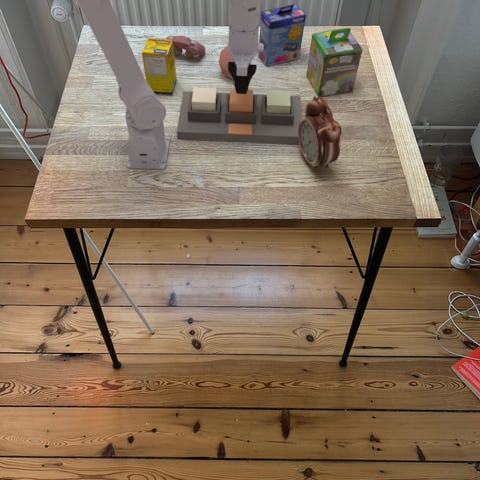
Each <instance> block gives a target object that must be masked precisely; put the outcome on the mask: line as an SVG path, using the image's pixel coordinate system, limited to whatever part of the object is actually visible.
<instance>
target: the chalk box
mask: <svg viewBox="0 0 480 480" xmlns="http://www.w3.org/2000/svg"><path fill="white" fill-rule="evenodd" d="M351 31H352V28H351V27H345V28H344V27H343V28H337V29H332V30H324V31H319V32H314V33H312V34H311V40H310V47H309V55H308V62H307V70H306V76H307V79H308V81H309V83H310V84H311V86H312V87H313V89H314V91H315V93H316V94H317V97H324V96H331V95H337V94H339V95H340V94H343V93H344V94H345V93H352V92H354V85H355V82H356V78H357V74H358V70H359V66H360V62H361V57H362V54H363V49H364V48H363V47H362V46H361V45H360V43H359V42H358V41H357V39H356V37H355V36H354V35H353V34H352V32H351Z"/></svg>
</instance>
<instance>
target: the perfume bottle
mask: <svg viewBox="0 0 480 480" xmlns="http://www.w3.org/2000/svg"><path fill="white" fill-rule="evenodd" d="M228 62H234V61H233V59H232V57H231V55H230V53H229V51H228V44H227V45H226V46H224V48H222V49H221V51H220V53H219V58H218V63H219V64H218V65H219V67H220V71H221V73H222V75H224V76H225V77H227V78H230V79H233V78H232V76H231V74H230V73H229V71H228Z"/></svg>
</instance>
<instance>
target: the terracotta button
mask: <svg viewBox="0 0 480 480" xmlns="http://www.w3.org/2000/svg"><path fill="white" fill-rule="evenodd" d="M229 93H230V101H229V112H244V113H252V111H253V94H254V89H248V91H247V93H246V94H237V93H236V90H235V88H230V89H229Z"/></svg>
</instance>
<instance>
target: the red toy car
mask: <svg viewBox="0 0 480 480" xmlns="http://www.w3.org/2000/svg"><path fill="white" fill-rule="evenodd" d="M165 39H170V40H173V47H174V55H176V56H182V54H183V52H184V56H185V57H187V58H189V59H192V58H194V57H197V56H199V57H202V56H204V55H205V54H206V46H205V45H203V44H201V42H199V41H197V40H195V39H192V38H190V37H188V36H185V35H174V36H173V35H171V34H170V35H169V36H167V37H166V38H165ZM183 50H184V51H183Z"/></svg>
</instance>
